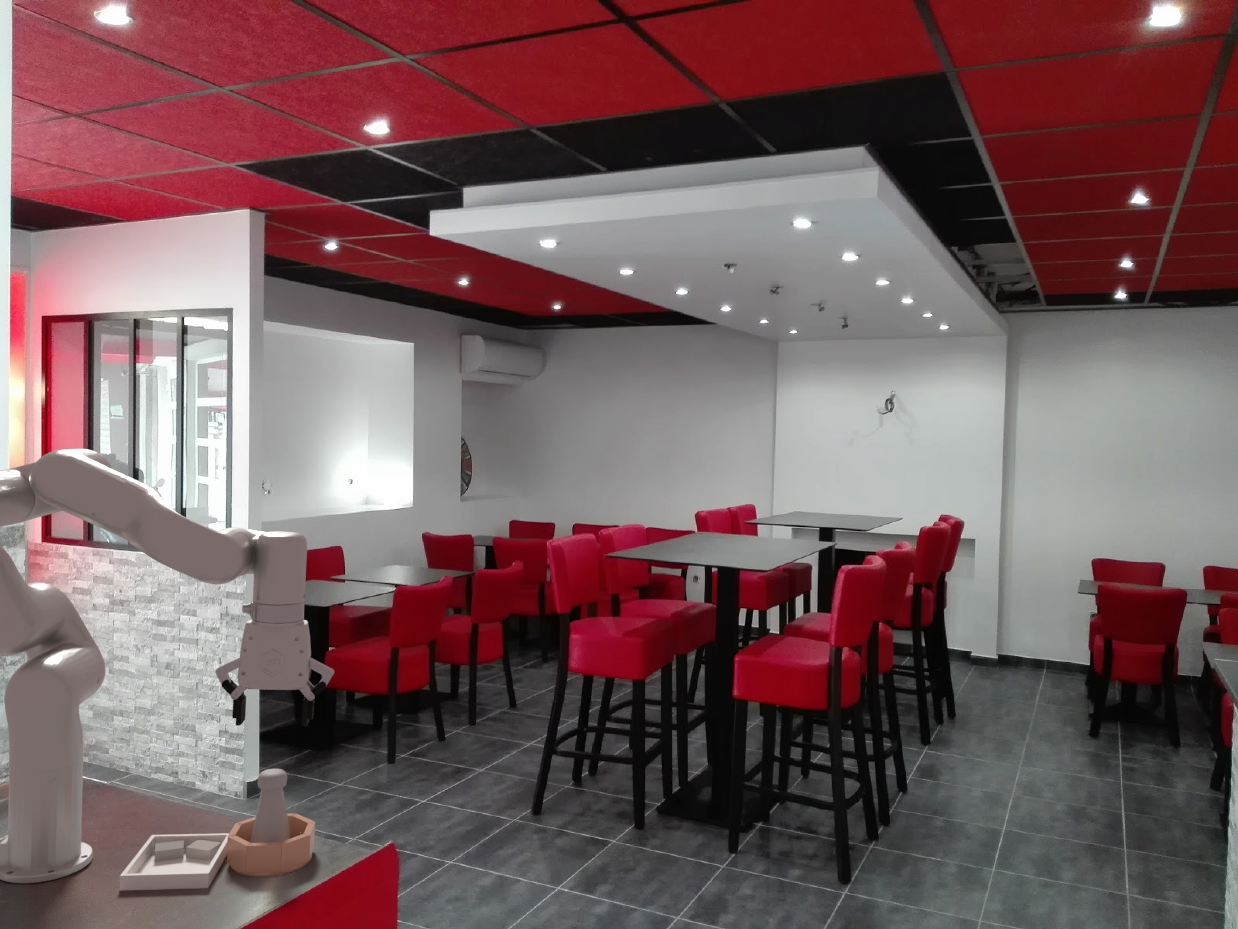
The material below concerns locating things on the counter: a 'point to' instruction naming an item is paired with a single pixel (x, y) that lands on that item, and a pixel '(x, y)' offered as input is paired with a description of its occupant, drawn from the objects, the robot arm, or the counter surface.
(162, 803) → the counter surface
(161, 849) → the grey rectangular block
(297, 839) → the bowl
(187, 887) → the tray
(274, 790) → the salt shaker
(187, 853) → the beige rectangular block
